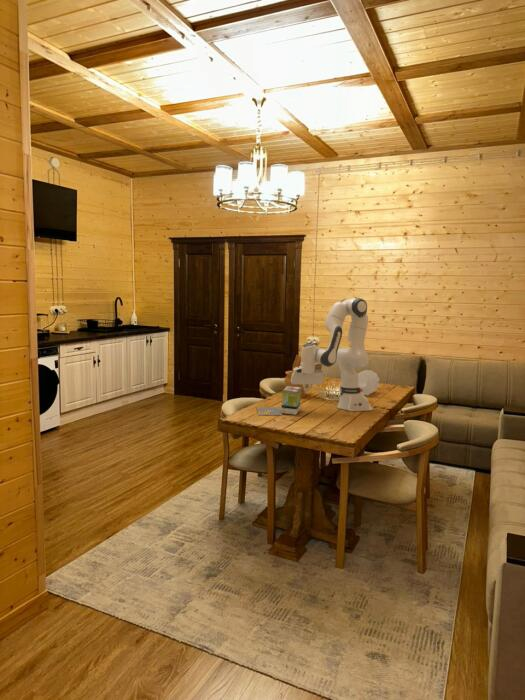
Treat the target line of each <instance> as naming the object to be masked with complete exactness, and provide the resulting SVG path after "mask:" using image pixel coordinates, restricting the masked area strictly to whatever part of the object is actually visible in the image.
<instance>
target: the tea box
mask: <svg viewBox="0 0 525 700" xmlns="http://www.w3.org/2000/svg"><path fill="white" fill-rule="evenodd" d="M301 399H302V397H301V388H299V387H290V386H286V385H285V387H284V389H283V390H282V399H281V408H280V410H281V413H282V414H285V415H294V416H295V415H297V414H298V413H299V411H300V409H301V407H300V406H301Z"/></svg>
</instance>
